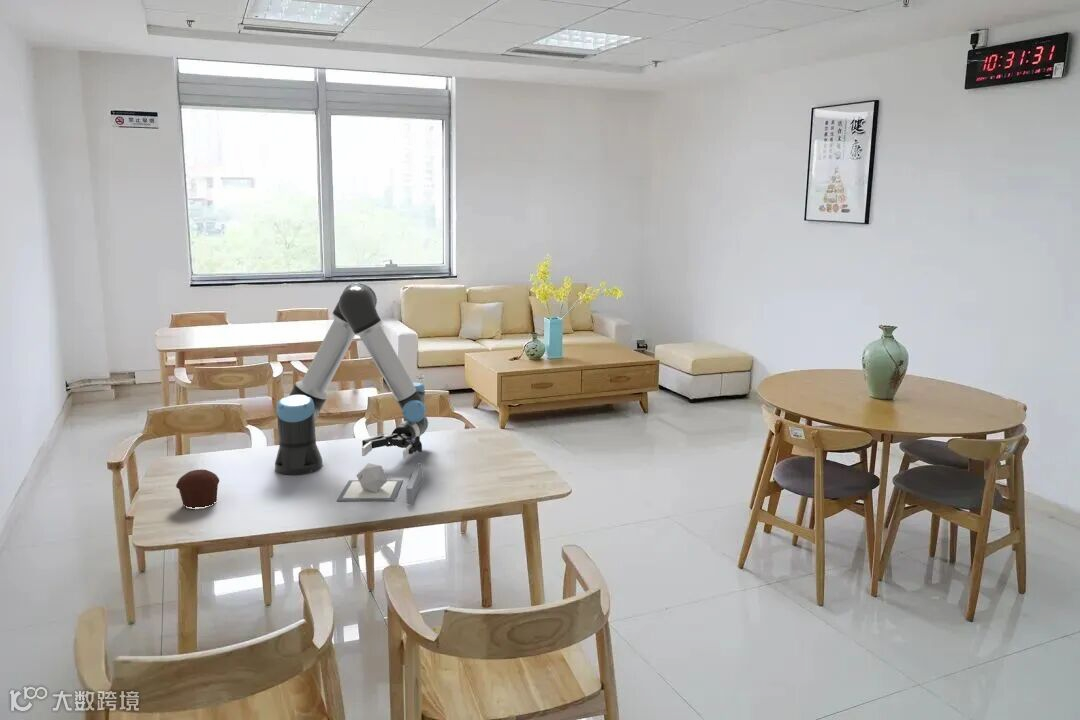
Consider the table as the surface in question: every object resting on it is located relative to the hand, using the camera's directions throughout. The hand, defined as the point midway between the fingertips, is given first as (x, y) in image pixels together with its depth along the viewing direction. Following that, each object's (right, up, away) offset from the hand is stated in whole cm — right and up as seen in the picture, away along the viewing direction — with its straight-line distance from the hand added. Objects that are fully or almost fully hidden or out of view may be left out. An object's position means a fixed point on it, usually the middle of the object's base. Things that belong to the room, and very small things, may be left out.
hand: (383, 453), depth 252 cm
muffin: (-50, -13, -19) cm, 55 cm away
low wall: (+11, -11, -8) cm, 17 cm away
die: (-2, -10, -9) cm, 14 cm away
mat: (-2, -11, -8) cm, 14 cm away
